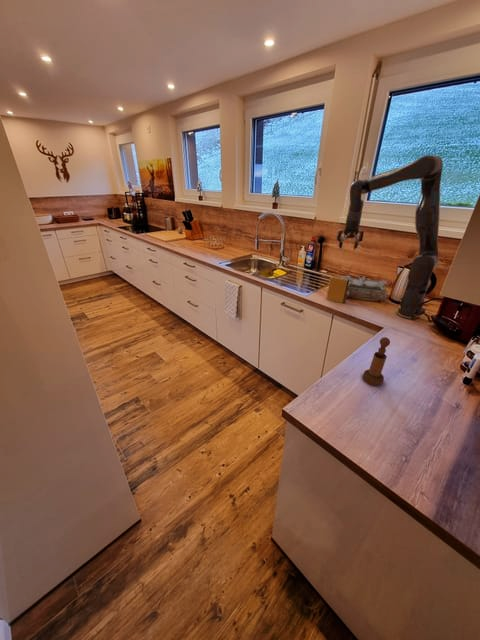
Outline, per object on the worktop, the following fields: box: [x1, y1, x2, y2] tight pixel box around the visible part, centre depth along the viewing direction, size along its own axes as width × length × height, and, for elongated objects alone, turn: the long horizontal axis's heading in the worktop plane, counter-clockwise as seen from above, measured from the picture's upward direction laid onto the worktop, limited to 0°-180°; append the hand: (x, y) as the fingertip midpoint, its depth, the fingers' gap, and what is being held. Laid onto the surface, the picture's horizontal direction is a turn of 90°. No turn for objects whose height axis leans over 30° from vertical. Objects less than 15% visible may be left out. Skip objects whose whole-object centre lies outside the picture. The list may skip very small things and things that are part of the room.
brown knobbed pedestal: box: [362, 336, 391, 387], centre depth 91 cm, size 7×6×18 cm
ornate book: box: [340, 274, 390, 303], centre depth 163 cm, size 23×10×30 cm
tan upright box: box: [326, 275, 350, 304], centre depth 154 cm, size 10×3×14 cm, turn 58°
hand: (347, 248), depth 157 cm, fingers open, 8 cm apart
